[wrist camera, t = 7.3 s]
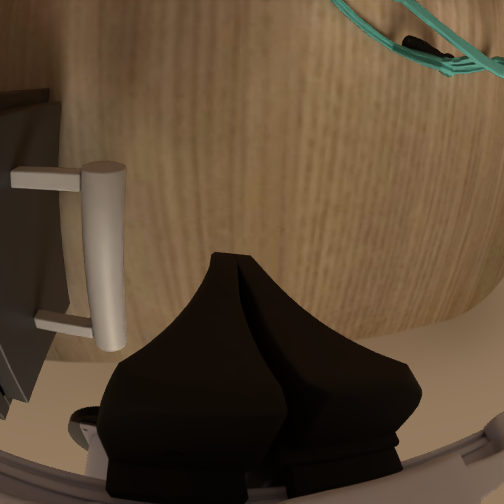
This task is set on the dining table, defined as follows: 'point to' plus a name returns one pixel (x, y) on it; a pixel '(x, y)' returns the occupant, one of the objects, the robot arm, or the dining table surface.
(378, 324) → the dining table surface
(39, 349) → the drawer
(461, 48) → the sunglasses
